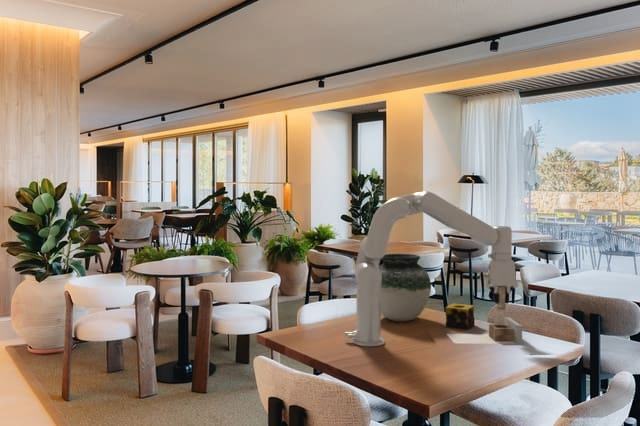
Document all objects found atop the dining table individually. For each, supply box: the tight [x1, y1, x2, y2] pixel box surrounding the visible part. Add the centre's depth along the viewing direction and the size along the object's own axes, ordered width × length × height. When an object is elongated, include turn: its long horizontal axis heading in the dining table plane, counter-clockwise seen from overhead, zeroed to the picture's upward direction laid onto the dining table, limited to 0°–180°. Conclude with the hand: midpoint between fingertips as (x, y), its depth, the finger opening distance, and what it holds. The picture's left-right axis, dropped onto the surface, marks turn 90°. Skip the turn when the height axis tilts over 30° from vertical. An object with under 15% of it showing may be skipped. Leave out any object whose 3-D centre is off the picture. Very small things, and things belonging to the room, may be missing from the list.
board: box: [446, 316, 523, 345], centre depth 206 cm, size 26×14×8 cm, turn 89°
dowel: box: [496, 286, 506, 311], centre depth 206 cm, size 3×3×12 cm
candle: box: [445, 303, 476, 331], centre depth 226 cm, size 10×10×10 cm
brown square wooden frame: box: [488, 323, 514, 341], centre depth 206 cm, size 8×8×5 cm
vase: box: [378, 253, 432, 322], centre depth 243 cm, size 28×28×30 cm
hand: (501, 302), depth 206 cm, fingers closed on dowel, 3 cm apart
